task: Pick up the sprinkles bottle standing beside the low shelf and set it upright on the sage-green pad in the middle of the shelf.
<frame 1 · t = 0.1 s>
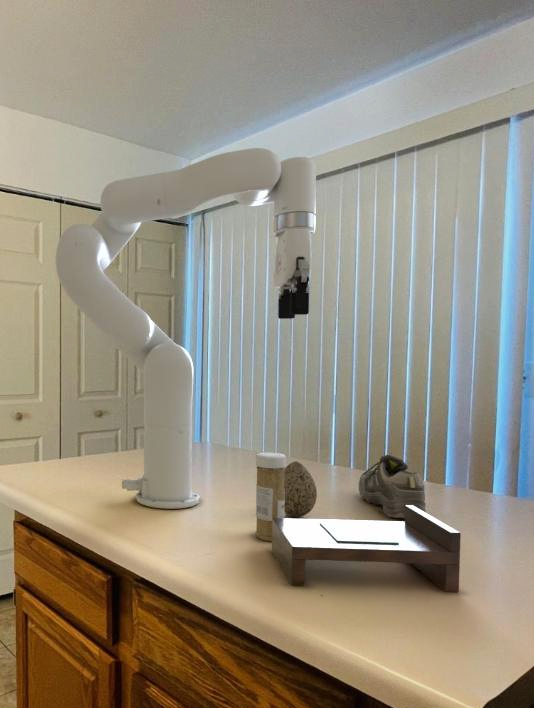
hand: (292, 316, 101), 37 cm above the worktop, tool pointing down, fingers open, 9 cm apart
decorative egg: (295, 517, 95), on the worktop
hiking shoe: (390, 507, 101), on the worktop
shelf: (356, 569, 71), on the worktop
sprinkles bottle: (269, 538, 84), on the worktop
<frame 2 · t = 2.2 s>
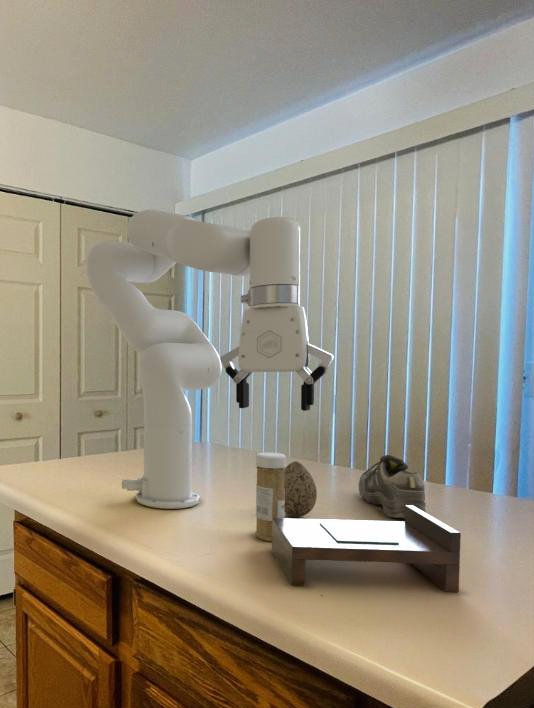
hand: (273, 408, 82), 21 cm above the worktop, tool pointing down, fingers open, 9 cm apart
nothing on the worktop moved.
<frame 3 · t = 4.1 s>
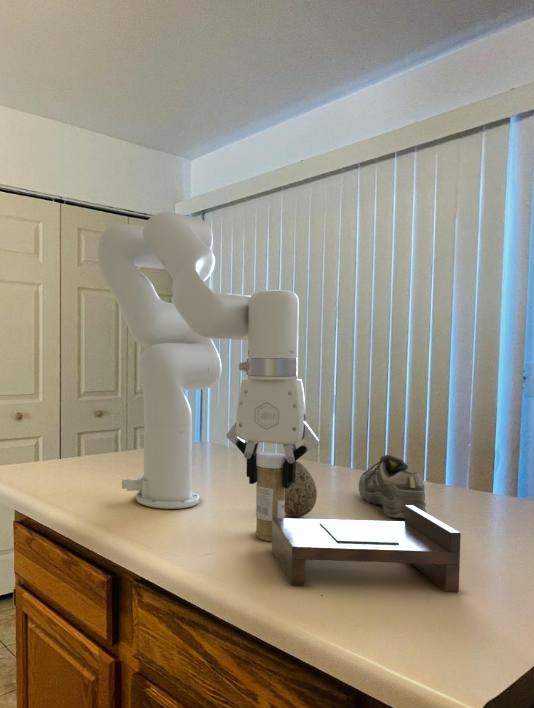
hand: (270, 483, 83), 9 cm above the worktop, tool pointing down, fingers closed on sprinkles bottle, 4 cm apart
sprinkles bottle: (269, 538, 84), on the worktop, touching gripper
everything else where it was.
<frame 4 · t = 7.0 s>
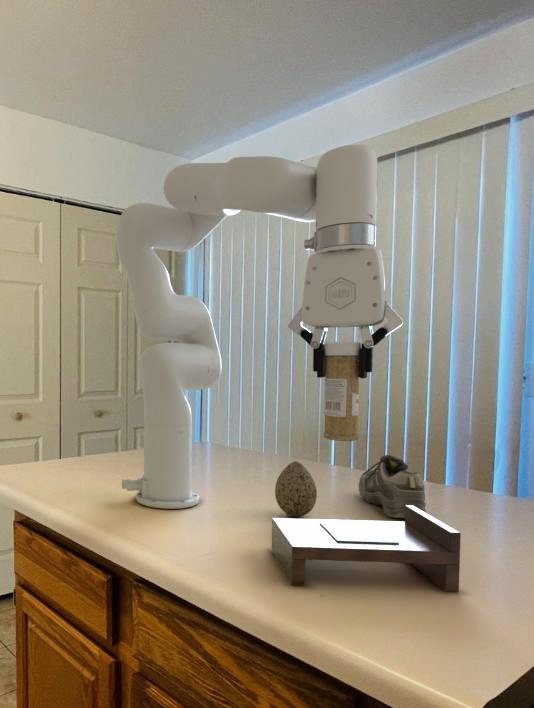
hand: (341, 376, 72), 26 cm above the worktop, tool pointing down, fingers closed on sprinkles bottle, 4 cm apart
sprinkles bottle: (340, 440, 72), point 17 cm above the worktop, touching gripper
everything else where it was.
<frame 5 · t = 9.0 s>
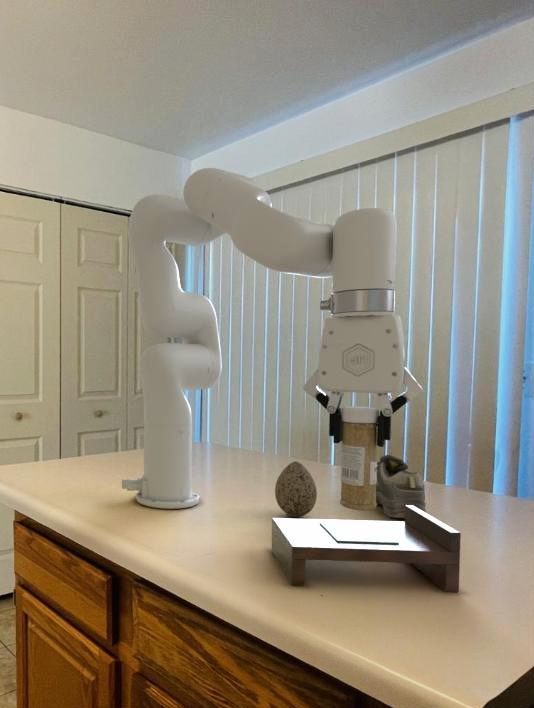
hand: (359, 442, 70), 17 cm above the worktop, tool pointing down, fingers closed on sprinkles bottle, 4 cm apart
sprinkles bottle: (357, 507, 70), point 8 cm above the worktop, touching gripper
everything else where it was.
when the fingers open (14 cm above the worktop, at t = 10.2 s): sprinkles bottle stays where it is, resting on shelf.
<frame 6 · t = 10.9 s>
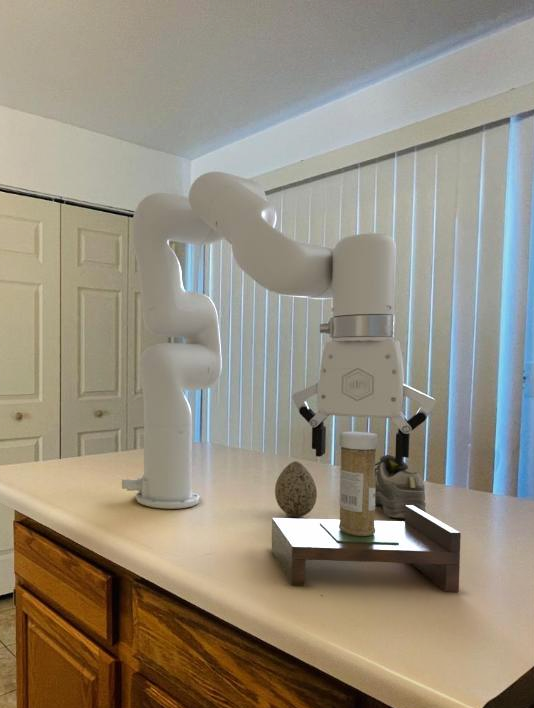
hand: (358, 458, 70), 15 cm above the worktop, tool pointing down, fingers open, 9 cm apart
sprinkles bottle: (356, 533, 71), point 5 cm above the worktop, touching shelf
everything else where it was.
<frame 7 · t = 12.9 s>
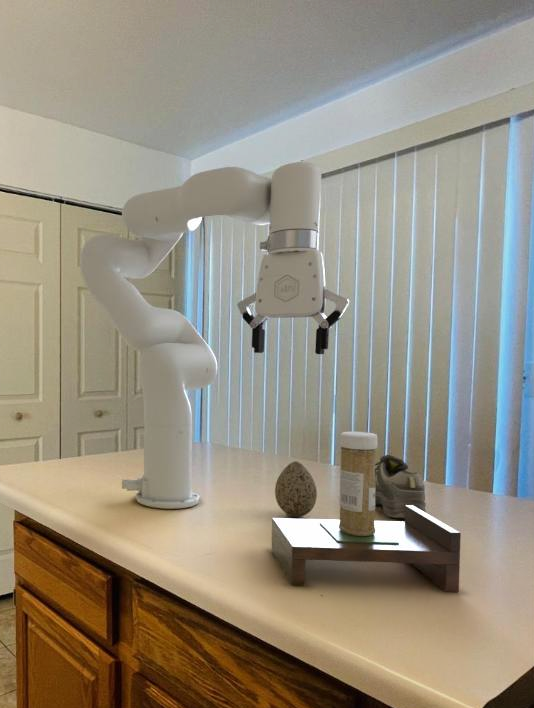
hand: (288, 353, 85), 29 cm above the worktop, tool pointing down, fingers open, 9 cm apart
nothing on the worktop moved.
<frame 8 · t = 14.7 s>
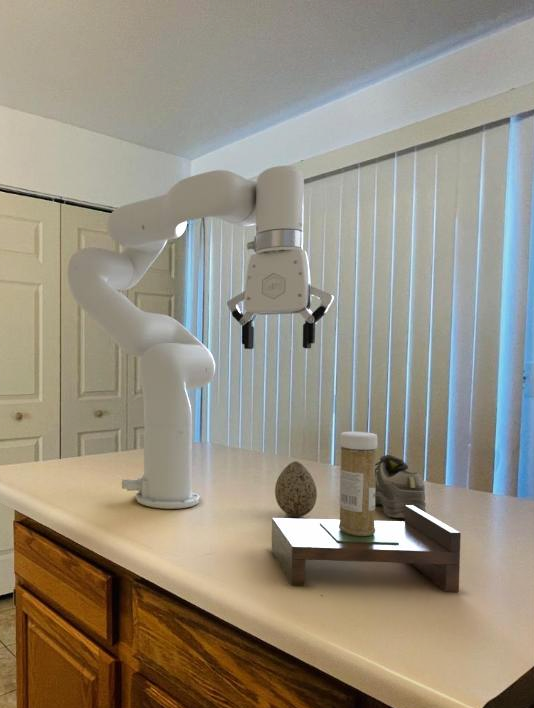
hand: (277, 348, 88), 30 cm above the worktop, tool pointing down, fingers open, 9 cm apart
nothing on the worktop moved.
at the end: sprinkles bottle 0.1 cm off-centre on the shelf, point 5.0 cm above the shelf's base; sprinkles bottle tilted 0°; the gripper is holding nothing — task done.
